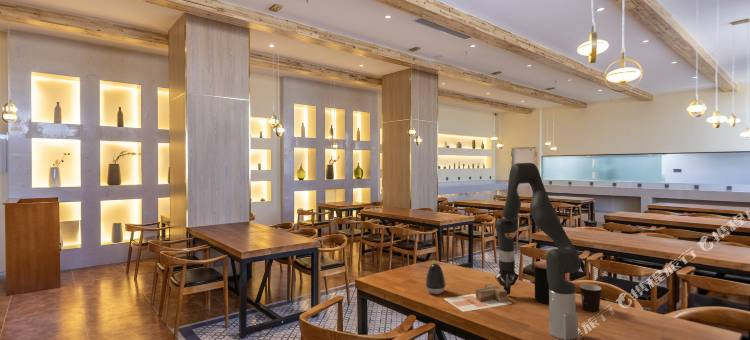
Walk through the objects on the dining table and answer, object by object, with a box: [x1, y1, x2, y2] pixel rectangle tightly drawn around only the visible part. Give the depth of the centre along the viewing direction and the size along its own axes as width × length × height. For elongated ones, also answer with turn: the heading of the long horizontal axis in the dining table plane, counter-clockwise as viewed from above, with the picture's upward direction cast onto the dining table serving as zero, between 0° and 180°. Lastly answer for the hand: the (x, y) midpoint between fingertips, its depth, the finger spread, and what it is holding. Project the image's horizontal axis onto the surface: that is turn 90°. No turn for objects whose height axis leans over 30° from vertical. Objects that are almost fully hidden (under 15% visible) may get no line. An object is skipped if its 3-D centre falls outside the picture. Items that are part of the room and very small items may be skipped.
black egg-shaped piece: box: [425, 263, 446, 295], centre depth 201 cm, size 10×10×15 cm
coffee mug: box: [579, 283, 603, 313], centre depth 176 cm, size 12×9×10 cm
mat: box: [443, 293, 514, 313], centre depth 187 cm, size 18×27×1 cm, turn 109°
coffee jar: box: [533, 260, 549, 306], centre depth 186 cm, size 11×11×18 cm
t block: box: [475, 283, 508, 303], centre depth 189 cm, size 12×12×5 cm
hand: (507, 294), depth 193 cm, fingers closed
